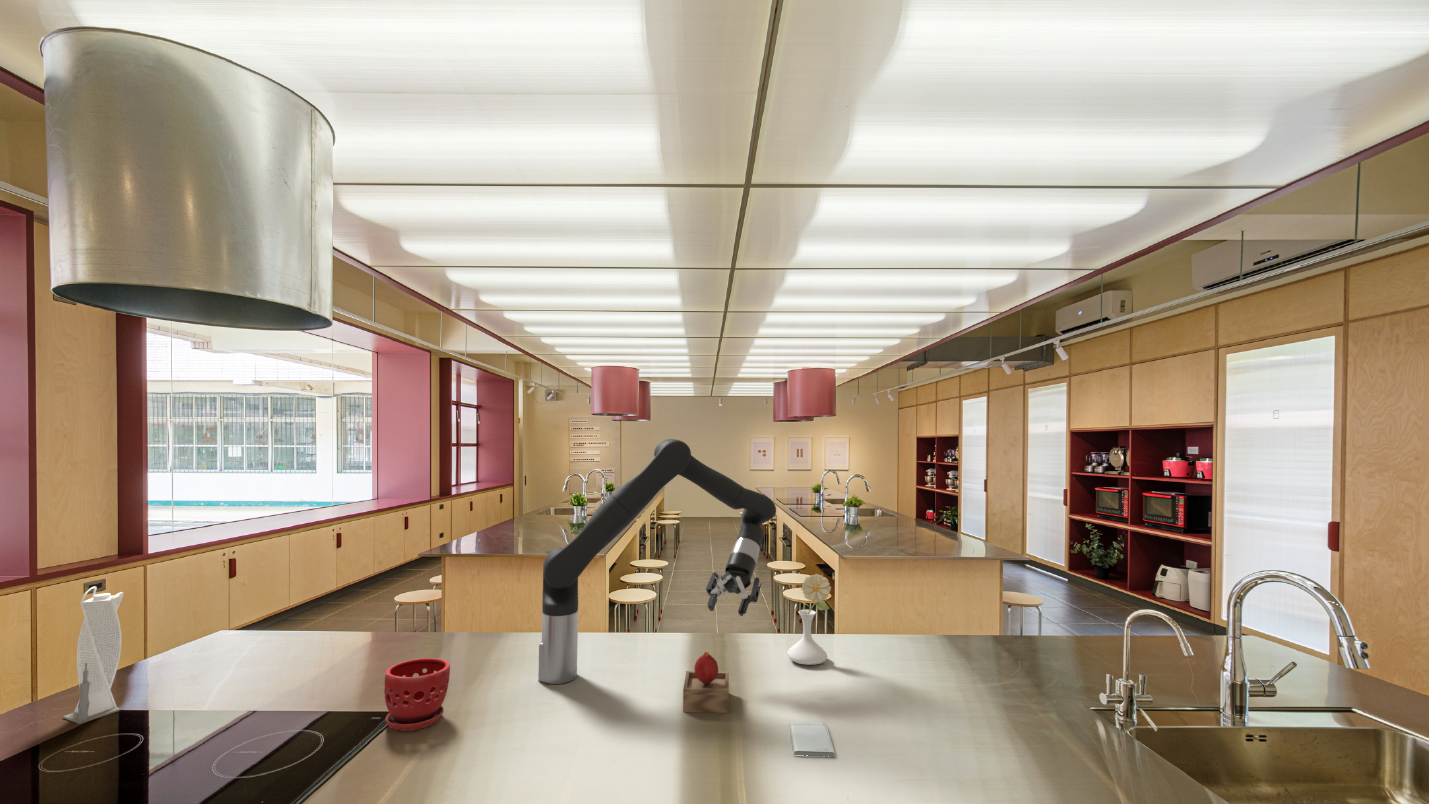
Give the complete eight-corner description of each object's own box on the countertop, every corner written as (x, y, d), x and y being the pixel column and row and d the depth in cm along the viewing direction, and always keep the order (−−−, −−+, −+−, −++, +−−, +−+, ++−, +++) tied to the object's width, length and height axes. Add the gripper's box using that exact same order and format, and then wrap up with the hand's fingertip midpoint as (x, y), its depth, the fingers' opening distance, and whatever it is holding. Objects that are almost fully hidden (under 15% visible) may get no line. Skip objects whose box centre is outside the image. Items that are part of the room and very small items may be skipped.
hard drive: (834, 752, 121) (826, 722, 133) (793, 750, 121) (789, 721, 133) (834, 760, 121) (826, 729, 133) (793, 759, 121) (789, 728, 133)
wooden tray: (682, 712, 140) (683, 689, 140) (686, 692, 150) (686, 671, 150) (728, 712, 139) (728, 689, 140) (728, 693, 150) (728, 671, 150)
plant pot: (439, 733, 129) (440, 676, 129) (373, 738, 127) (375, 679, 127) (455, 706, 142) (456, 654, 142) (395, 709, 140) (397, 657, 140)
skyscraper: (59, 716, 135) (67, 590, 136) (106, 702, 142) (113, 582, 144) (79, 724, 132) (87, 594, 133) (126, 708, 139) (133, 585, 141)
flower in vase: (779, 662, 170) (780, 573, 171) (798, 651, 179) (798, 566, 181) (822, 673, 163) (822, 580, 164) (839, 660, 172) (839, 572, 173)
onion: (693, 680, 148) (693, 647, 148) (716, 679, 148) (717, 646, 149) (694, 690, 142) (695, 655, 142) (719, 689, 143) (719, 655, 143)
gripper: (716, 548, 167) (696, 600, 156) (763, 553, 161) (746, 607, 150) (724, 564, 171) (705, 615, 161) (770, 569, 165) (754, 623, 154)
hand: (725, 611), depth 155 cm, fingers open, 8 cm apart
